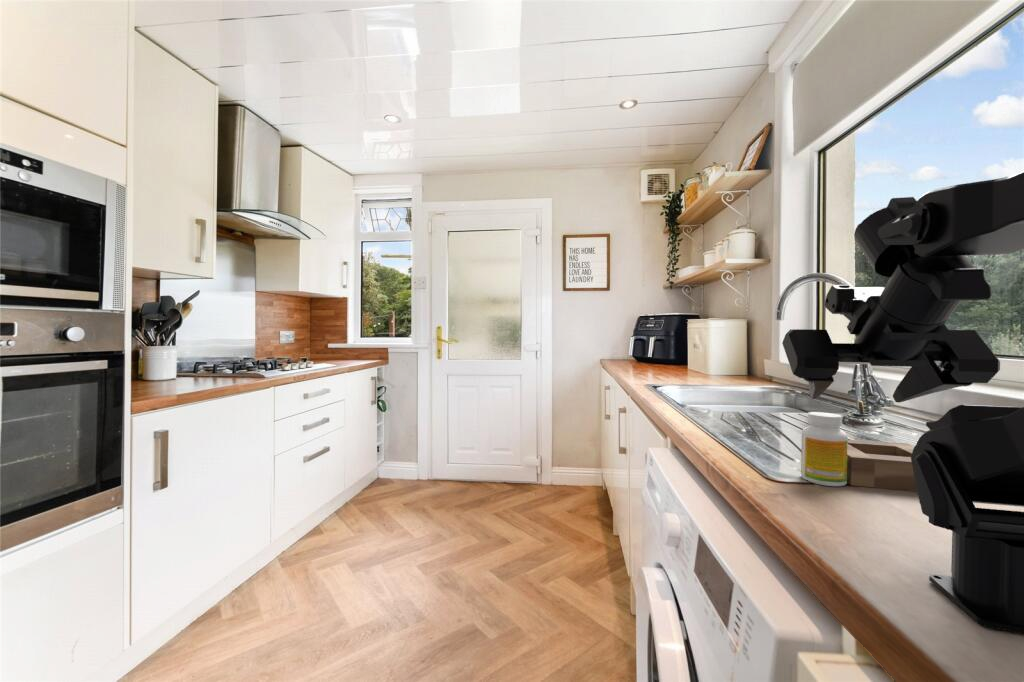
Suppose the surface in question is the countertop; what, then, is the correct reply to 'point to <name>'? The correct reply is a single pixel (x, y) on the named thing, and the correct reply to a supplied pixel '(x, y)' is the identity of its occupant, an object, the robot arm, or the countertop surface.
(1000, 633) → the countertop surface
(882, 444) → the walnut collar
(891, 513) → the countertop surface
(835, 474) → the supplement bottle
